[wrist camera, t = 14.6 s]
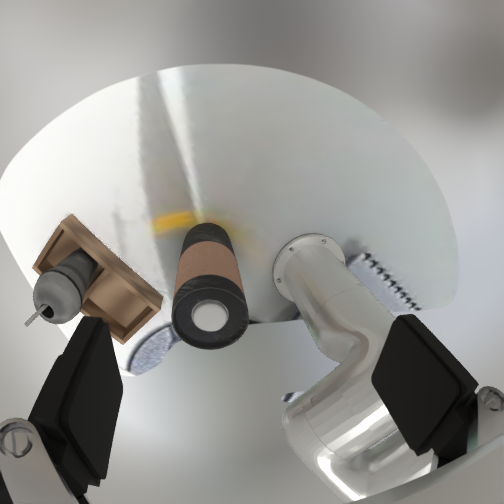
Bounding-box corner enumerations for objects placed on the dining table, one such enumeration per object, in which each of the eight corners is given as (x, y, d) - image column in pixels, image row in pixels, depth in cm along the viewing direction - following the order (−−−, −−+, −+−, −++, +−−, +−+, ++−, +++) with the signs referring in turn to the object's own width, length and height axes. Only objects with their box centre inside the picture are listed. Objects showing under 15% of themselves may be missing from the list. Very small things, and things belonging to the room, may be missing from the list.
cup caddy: (163, 296, 48) (160, 309, 45) (127, 330, 50) (122, 345, 46) (72, 213, 41) (61, 221, 37) (42, 257, 42) (31, 267, 38)
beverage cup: (78, 284, 44) (29, 361, 26) (60, 246, 42) (-4, 312, 23) (113, 273, 45) (71, 354, 26) (95, 232, 42) (36, 298, 24)
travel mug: (173, 251, 46) (156, 329, 27) (200, 211, 44) (198, 270, 26) (213, 275, 48) (221, 361, 30) (241, 238, 47) (266, 310, 28)
